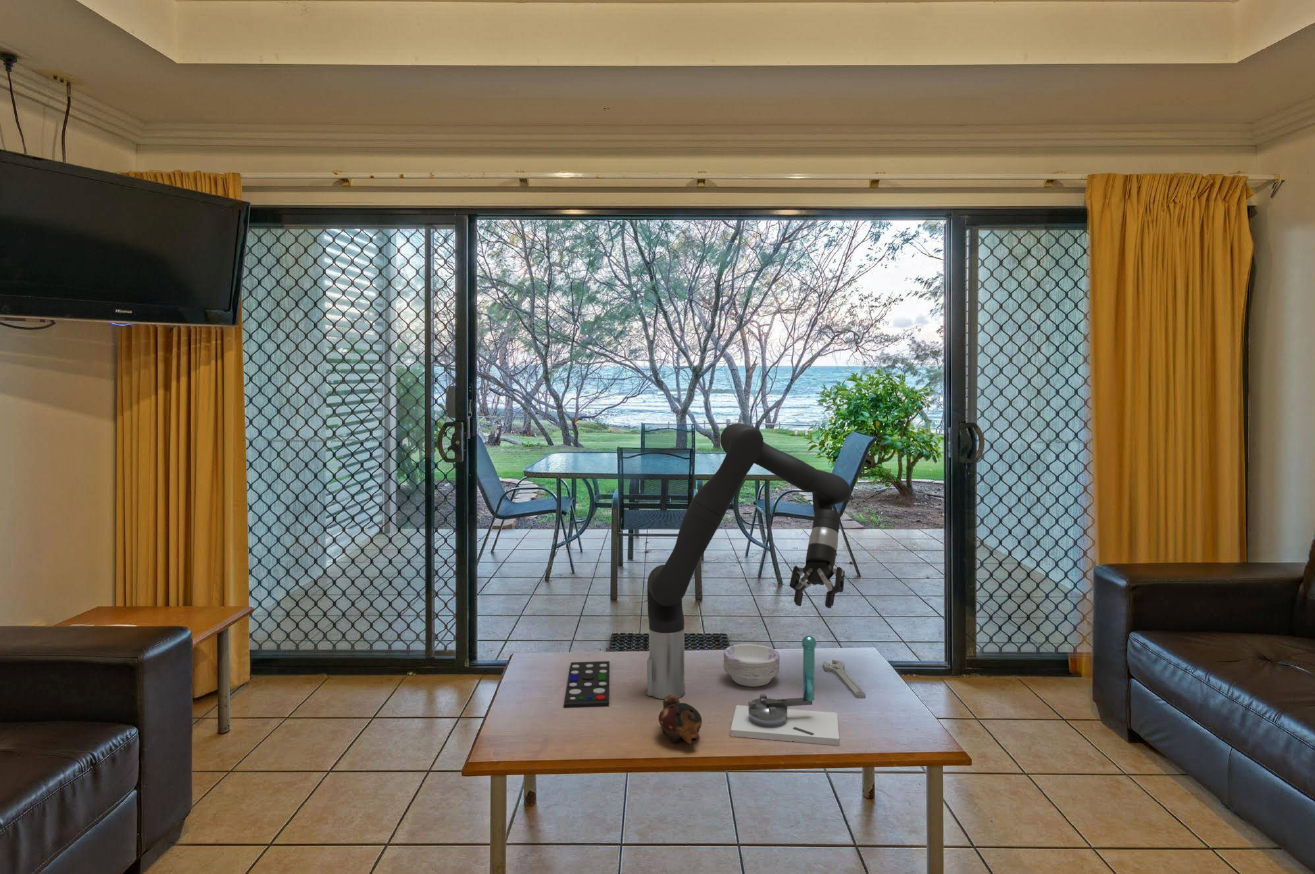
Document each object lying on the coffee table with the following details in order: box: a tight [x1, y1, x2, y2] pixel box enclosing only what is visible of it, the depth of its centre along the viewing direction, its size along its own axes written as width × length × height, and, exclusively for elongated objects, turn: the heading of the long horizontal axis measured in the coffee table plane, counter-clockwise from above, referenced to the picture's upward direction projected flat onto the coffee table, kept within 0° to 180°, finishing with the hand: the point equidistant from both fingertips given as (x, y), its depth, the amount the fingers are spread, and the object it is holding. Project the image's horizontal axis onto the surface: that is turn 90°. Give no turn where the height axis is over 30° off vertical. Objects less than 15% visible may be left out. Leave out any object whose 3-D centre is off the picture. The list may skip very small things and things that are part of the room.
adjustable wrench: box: [822, 659, 866, 699], centre depth 201 cm, size 25×6×2 cm, turn 1°
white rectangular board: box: [730, 704, 840, 746], centre depth 172 cm, size 24×14×2 cm, turn 78°
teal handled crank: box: [747, 635, 817, 727], centre depth 173 cm, size 16×9×19 cm, turn 98°
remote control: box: [563, 660, 611, 709], centre depth 200 cm, size 11×30×2 cm, turn 3°
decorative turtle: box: [658, 695, 703, 745], centre depth 167 cm, size 10×15×8 cm, turn 27°
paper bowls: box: [723, 643, 781, 688], centre depth 201 cm, size 15×15×8 cm
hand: (812, 606), depth 189 cm, fingers open, 8 cm apart
